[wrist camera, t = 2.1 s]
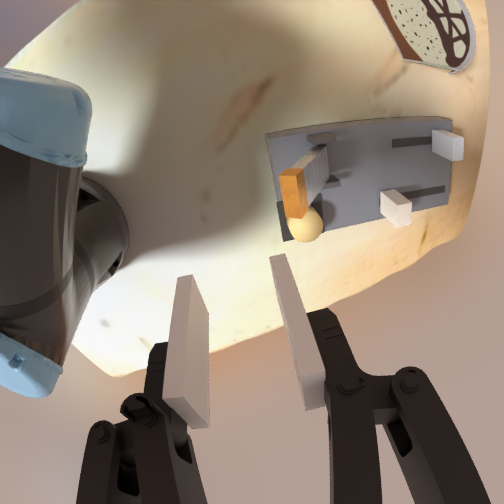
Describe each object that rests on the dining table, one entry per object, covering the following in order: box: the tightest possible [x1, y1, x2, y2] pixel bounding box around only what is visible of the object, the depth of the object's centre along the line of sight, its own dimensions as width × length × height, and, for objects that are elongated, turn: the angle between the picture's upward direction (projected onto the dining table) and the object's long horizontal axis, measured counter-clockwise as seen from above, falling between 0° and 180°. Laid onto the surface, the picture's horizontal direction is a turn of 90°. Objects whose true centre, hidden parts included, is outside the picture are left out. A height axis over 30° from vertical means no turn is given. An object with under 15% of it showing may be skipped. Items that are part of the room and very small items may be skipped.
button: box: [286, 206, 323, 242], centre depth 31 cm, size 4×4×2 cm
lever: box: [279, 143, 330, 219], centre depth 25 cm, size 1×4×10 cm
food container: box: [370, 0, 476, 74], centre depth 18 cm, size 12×6×10 cm, turn 32°
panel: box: [265, 116, 452, 242], centre depth 31 cm, size 24×12×5 cm, turn 102°
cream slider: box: [380, 189, 412, 228], centre depth 30 cm, size 2×3×4 cm
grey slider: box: [432, 129, 464, 161], centre depth 26 cm, size 2×3×4 cm
